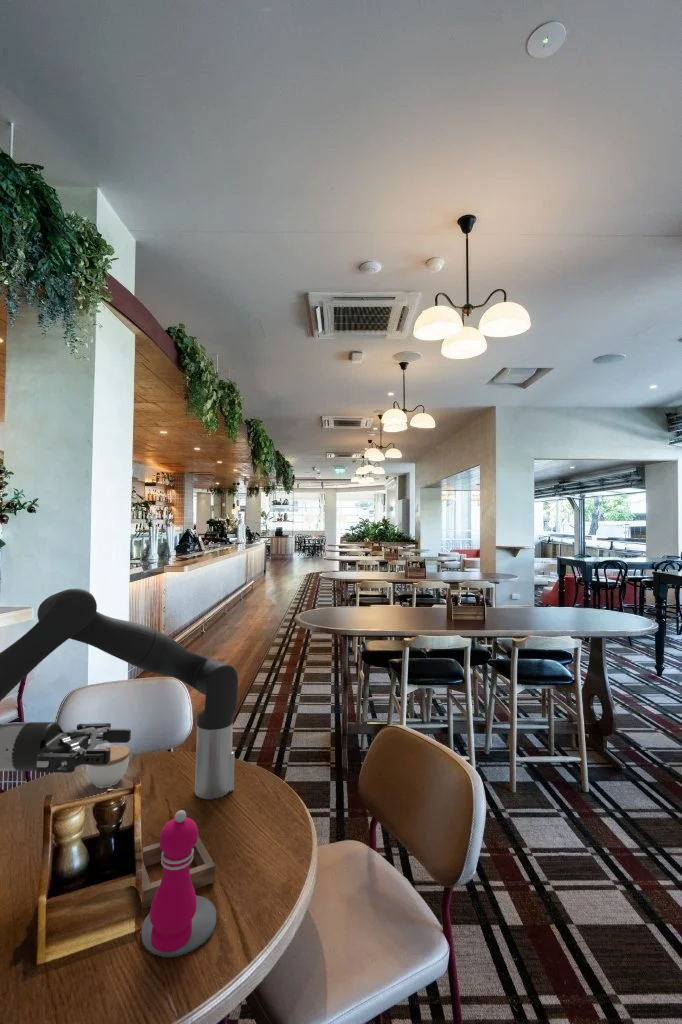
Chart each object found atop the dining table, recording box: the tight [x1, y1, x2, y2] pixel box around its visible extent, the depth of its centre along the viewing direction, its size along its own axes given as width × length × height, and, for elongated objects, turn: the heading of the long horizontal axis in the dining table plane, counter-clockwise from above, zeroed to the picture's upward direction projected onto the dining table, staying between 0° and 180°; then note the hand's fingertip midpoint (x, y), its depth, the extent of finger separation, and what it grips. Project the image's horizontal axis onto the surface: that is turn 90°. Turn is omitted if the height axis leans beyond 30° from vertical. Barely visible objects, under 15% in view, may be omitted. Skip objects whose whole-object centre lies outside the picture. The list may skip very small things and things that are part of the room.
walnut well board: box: [141, 835, 216, 910], centre depth 94 cm, size 13×13×3 cm
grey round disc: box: [140, 895, 217, 958], centre depth 81 cm, size 12×12×1 cm
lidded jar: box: [85, 744, 131, 789], centre depth 130 cm, size 11×11×9 cm
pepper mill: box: [149, 809, 199, 953], centre depth 78 cm, size 7×7×20 cm
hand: (120, 745), depth 83 cm, fingers open, 8 cm apart
